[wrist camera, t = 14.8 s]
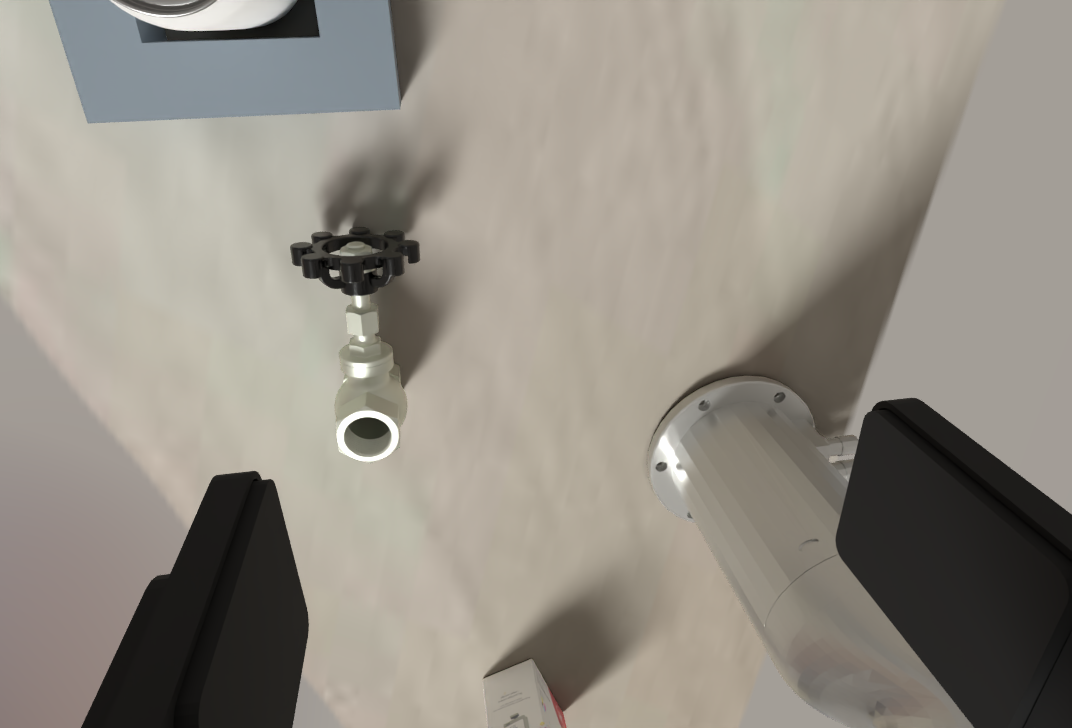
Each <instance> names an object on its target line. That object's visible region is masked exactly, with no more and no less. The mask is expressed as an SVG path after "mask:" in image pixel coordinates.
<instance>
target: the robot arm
mask: <svg viewBox="0 0 1072 728" xmlns="http://www.w3.org/2000/svg"><path fill="white" fill-rule="evenodd" d="M852 454H855V457H854V459H850V460H842V461H836V462H835V463H830V462H829V457H830V456H836V455H838V456H844V455H852ZM647 470H648V478H649V480H650V483H651V486H652V489H653V490H654V492H655V494H656V496H657V498H658V500H659V501H660V502H661V503H662V504H663V506H664V507H665V508H666V509H667V510H668V511H670V512H671V513H673V514H674V515H675V516H677V517H679V518H681V519H683V520H686V521H688V522H692V523H696V525H697V527H698V528H699V530H700V532H701V534H702V536H703V537H704V539H705V541H706V543H707V545H708V547H709V548H710V550H711V552H712V554H713V556H714V557H715V559H716V561H717V563H718V565H719V566H720V568H721V570H722V572H723V574H724V575H725V577H726V579H727V581H728V583H729V584H730V586H731V588H732V590H733V592H734V593H735V595H736V597H737V599H738V601H739V602H740V604H741V606H742V608H743V610H744V611H745V613H746V615H747V617H748V619H749V620H750V622H751V624H752V626H753V628H754V629H755V631H756V633H757V635H758V637H759V638H760V640H761V642H762V644H763V646H764V647H765V649H766V651H767V653H768V654H769V656H770V658H771V660H772V661H773V663H774V665H775V666H776V668H777V670H778V672H779V673H780V675H781V676H782V678H783V679H784V681H785V682H786V683H787V685H788V686H789V687H790V688H791V689H792V690H793V691H794V692H795V694H797V695H798V696H799V697H800V698H801V699H802V700H803V701H805V702H806V703H807V704H808V705H810V706H811V707H812V708H814V709H816V710H817V711H819V712H820V713H822V714H823V715H825V716H827V717H829V718H831V719H833V720H835V721H837V722H839V723H841V724H843V725H845V726H847V727H850V728H1072V514H1070V513H1069V512H1068V511H1066V510H1065V509H1064V508H1062V507H1061V506H1059V505H1058V504H1057V503H1056V502H1054V501H1053V500H1052V499H1050V498H1049V497H1048V496H1046V495H1045V494H1044V493H1042V492H1041V491H1040V490H1038V489H1037V488H1036V487H1035V486H1033V485H1032V484H1031V483H1029V482H1028V481H1026V480H1025V479H1024V478H1023V477H1021V476H1020V475H1019V474H1017V473H1016V472H1015V471H1013V470H1012V469H1011V468H1010V467H1008V466H1007V465H1006V464H1004V463H1003V462H1002V461H1000V460H999V459H998V458H996V457H995V456H994V455H992V454H991V453H989V452H988V451H987V450H986V449H984V448H983V447H982V446H981V445H979V444H977V442H975V441H974V440H972V439H971V438H970V437H969V436H967V435H966V434H965V433H963V432H962V431H961V430H959V429H958V428H957V427H955V426H954V425H953V424H951V423H950V422H949V421H948V420H946V419H945V418H944V417H942V416H941V415H940V414H938V413H937V412H936V411H934V410H933V409H932V408H930V407H929V406H928V405H926V404H925V403H924V402H922V401H921V400H919V399H917V398H906V399H897V400H888V401H881V402H878V403H877V404H876V405H875V406H874V407H873V409H872V411H871V412H868V413H867V414H866V415H865V418H864V420H863V424H862V428H861V433H860V437H859V441H858V439H857V438H856V436H854V435H847V436H839V437H835V438H830V439H826V438H825V437H824V436H821V435H820V434H819V433H818V432H817V431H816V429H815V424H814V418H813V416H812V414H811V412H810V410H809V408H808V406H807V405H806V404H805V403H804V401H803V400H802V399H801V398H800V397H799V396H798V395H797V394H796V393H795V392H794V391H793V390H791V389H790V388H789V387H788V386H786V385H784V384H782V383H780V382H778V381H776V380H773V379H769V378H766V377H760V376H738V377H730V378H726V379H723V380H719V381H715V382H713V383H711V384H709V385H706V386H704V387H702V388H700V389H698V390H696V391H695V392H693V393H692V394H690V395H689V396H687V397H686V398H684V399H683V400H682V401H681V402H680V403H678V404H677V405H676V406H675V407H674V408H673V409H672V410H671V411H670V412H669V413H668V415H667V416H666V417H665V418H664V419H663V421H662V422H661V423H660V425H659V427H658V429H657V430H656V432H655V434H654V436H653V438H652V441H651V444H650V447H649V450H648V458H647ZM308 627H309V623H308V612H307V607H306V603H305V599H304V595H303V591H302V587H301V583H300V579H299V576H298V572H297V568H296V564H295V560H294V556H293V552H292V548H291V544H290V540H289V536H288V532H287V529H286V525H285V521H284V517H283V513H282V509H281V505H280V501H279V497H278V493H277V489H276V486H275V483H274V481H273V480H271V479H268V480H262V479H261V476H260V475H259V473H258V472H256V471H250V472H241V473H232V474H223V475H216V476H214V477H213V478H212V480H211V482H210V484H209V486H208V489H207V491H206V493H205V496H204V498H203V500H202V502H201V505H200V507H199V509H198V512H197V514H196V516H195V518H194V521H193V523H192V525H191V528H190V530H189V532H188V535H187V537H186V539H185V541H184V544H183V546H182V548H181V551H180V553H179V555H178V558H177V560H176V562H175V564H174V567H173V569H172V571H171V573H170V574H167V575H160V576H157V577H155V578H154V579H153V580H151V582H150V584H149V585H148V587H147V588H146V590H145V592H144V594H143V597H142V599H141V601H140V603H139V605H138V607H137V609H136V611H135V614H134V616H133V618H132V620H131V622H130V624H129V626H128V628H127V631H126V633H125V635H124V637H123V639H122V641H121V643H120V646H119V648H118V650H117V652H116V654H115V656H114V658H113V661H112V663H111V665H110V667H109V669H108V671H107V673H106V676H105V678H104V680H103V682H102V684H101V686H100V688H99V691H98V693H97V695H96V697H95V699H94V701H93V703H92V706H91V708H90V710H89V712H88V714H87V716H86V718H85V721H84V723H83V725H82V727H81V728H292V725H293V720H294V714H295V708H296V702H297V697H298V691H299V685H300V679H301V673H302V668H303V662H304V656H305V650H306V644H307V638H308Z"/></svg>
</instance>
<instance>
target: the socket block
mask: <svg viewBox="0 0 1072 728" xmlns="http://www.w3.org/2000/svg"><path fill="white" fill-rule="evenodd" d="M314 1H315V8H316V14H317V20H318V27H319V33H320V36H298V37H265V38H232V39H199V40H167V36H166V32H165V28H163V27H159V26H156V25H153V24H150V23H147V22H145V21H142V20H140V19H138V18H136V17H134V16H132V15H130V14H129V13H127V12H125V11H124V10H122V9H121V8H119V7H118V6H116V5H115V4H114V3H112V2H111V1H110V0H49V3H50V6H51V9H52V12H53V15H54V18H55V22H56V25H57V28H58V31H59V34H60V37H61V40H62V44H63V47H64V50H65V53H66V56H67V59H68V62H69V66H70V69H71V72H72V75H73V78H74V81H75V85H76V88H77V91H78V94H79V97H80V100H81V103H82V107H83V110H84V113H85V116H86V119H87V122H88V123H106V122H129V121H151V120H173V119H195V118H218V117H240V116H262V115H284V114H307V113H329V112H351V111H373V110H395V109H400V106H401V94H400V85H399V76H398V67H397V58H396V49H395V40H394V31H393V22H392V13H391V3H390V0H314Z"/></svg>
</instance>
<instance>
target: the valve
mask: <svg viewBox="0 0 1072 728" xmlns="http://www.w3.org/2000/svg"><path fill="white" fill-rule="evenodd" d="M311 238H312V244H311V243H307V242H299V243H294V244H292V245H291V246H290V250H291V257H292V263H293V265H295V266H302V272H303V276H304V277H305V278H310V279H316V278H319V280H320V281H321V282H322V283H323V284H325V285H326V286H328V287H330V288H333V289H341V291H342V293H344V294H346V295H350V296H351V299H352V304H350V305H348V306H347V308H346V320H347V329H348V334H352V335H354V337H353V338H351V339H350V344H348V345H346V346H344V347H343V348H342V349H341V350H340V352H339V358H340V366H341V370H342V372H343V373H344V374H345V376H344V383H343V384H342V385H341V387H340V389H339V390H338V393H337V395H336V399H335V415H336V422H335V423H336V433H337V441H338V448H339V452H341V453H343V454H345V455H347V456H349V457H352V458H354V459H357V460H360V461H363V462H367V463H373V462H376V461H378V460H380V459H382V458H384V457H386V456H388V455H389V454H391V453H393V452H394V451H395V450H397V449H398V448H400V427H401V425H402V424H403V422H404V419H405V417H406V413H407V398H406V394H405V392H404V389H403V387H402V386H401V377H400V366H399V365H397V364H395V363H394V361H393V349H392V347H391V346H390V345H389V344H387V343H385V342H382V341H381V338H380V337H379V336H376V335H375V333H378V332H379V315H378V305H376V304H374V303H371V302H370V294H373V293H375V292H376V291H377V290H378V288H380V287H384V286H386V285H387V284H389V283H390V282H392V280H393V279H394V277H395V276H400V275H402V274H404V257H403V255H405V256H408V263H409V264H412V263H417V262H419V261H420V249H419V243H418V242H417V241H414V240H405V236H404V232H402V231H398V230H392V231H387V232H385V233H384V235H372V234H370V230H369V229H368V228H365V227H355V228H351V229H350V230H349V234H348V235H341V236H333V235H332V233H330V232H316V233H313V234H312V235H311ZM372 248H375V249H380V250H383V251H381V252H378V253H374V254H372ZM337 250H340V256H339V255H333V254H329V253H331V252H334V251H337ZM380 267H382V268H383V275H382V276H379V275H377V268H380ZM329 269H331V270H338V271H339V276H338V277H331V276H330V274H329Z"/></svg>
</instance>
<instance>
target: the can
mask: <svg viewBox="0 0 1072 728" xmlns="http://www.w3.org/2000/svg"><path fill="white" fill-rule="evenodd" d="M110 1H111V2H112V3H114V4H115V5H116V6H118V7H119V8H121V9H122V10H124V11H125V12H127V13H129V14H130V15H132V16H134V17H136V18H138V19H140V20H142V21H145V22H147V23H150V24H153V25H156V26H159V27H163V28H167V29H173V30H181V31H214V30H236V29H250V28H257V27H262V26H266V25H269V24H271V23H273V22H275V21H277V20H279V19H280V18H282V17H283V16H284V15H286V14H287V13H288V12H289V11H290V10H291V9H292V7H293V6H294V5H295V3H296V2H297V0H110Z"/></svg>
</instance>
